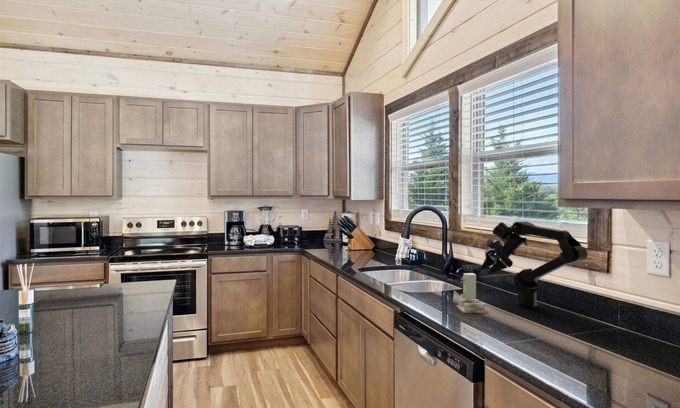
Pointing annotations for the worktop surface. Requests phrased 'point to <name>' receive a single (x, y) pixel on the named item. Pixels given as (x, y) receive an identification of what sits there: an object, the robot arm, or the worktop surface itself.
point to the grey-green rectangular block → (469, 286)
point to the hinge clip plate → (471, 306)
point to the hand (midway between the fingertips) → (484, 271)
